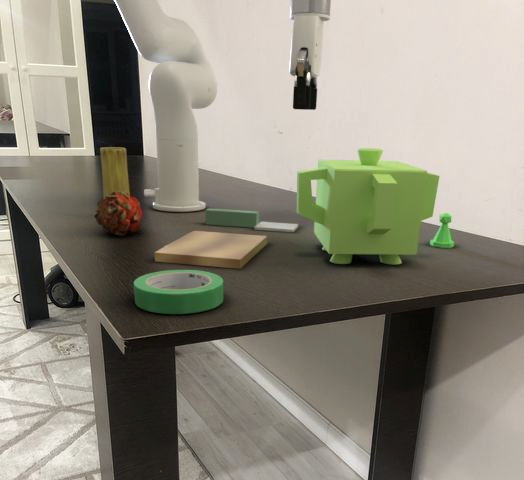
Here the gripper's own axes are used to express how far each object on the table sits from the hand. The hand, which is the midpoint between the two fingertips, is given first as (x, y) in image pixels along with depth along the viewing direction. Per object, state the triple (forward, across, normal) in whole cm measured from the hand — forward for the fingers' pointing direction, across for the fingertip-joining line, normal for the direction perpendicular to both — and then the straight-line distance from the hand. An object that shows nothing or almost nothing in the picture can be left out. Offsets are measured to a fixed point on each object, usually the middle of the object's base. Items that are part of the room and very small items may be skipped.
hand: (304, 109), depth 112 cm
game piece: (+23, +13, +29) cm, 39 cm away
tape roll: (+23, +57, -6) cm, 62 cm away
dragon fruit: (+23, +22, -31) cm, 44 cm away
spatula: (+23, +7, -9) cm, 25 cm away
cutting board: (+23, +31, -10) cm, 40 cm away
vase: (+23, +6, -39) cm, 46 cm away
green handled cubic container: (+23, +26, +15) cm, 37 cm away
